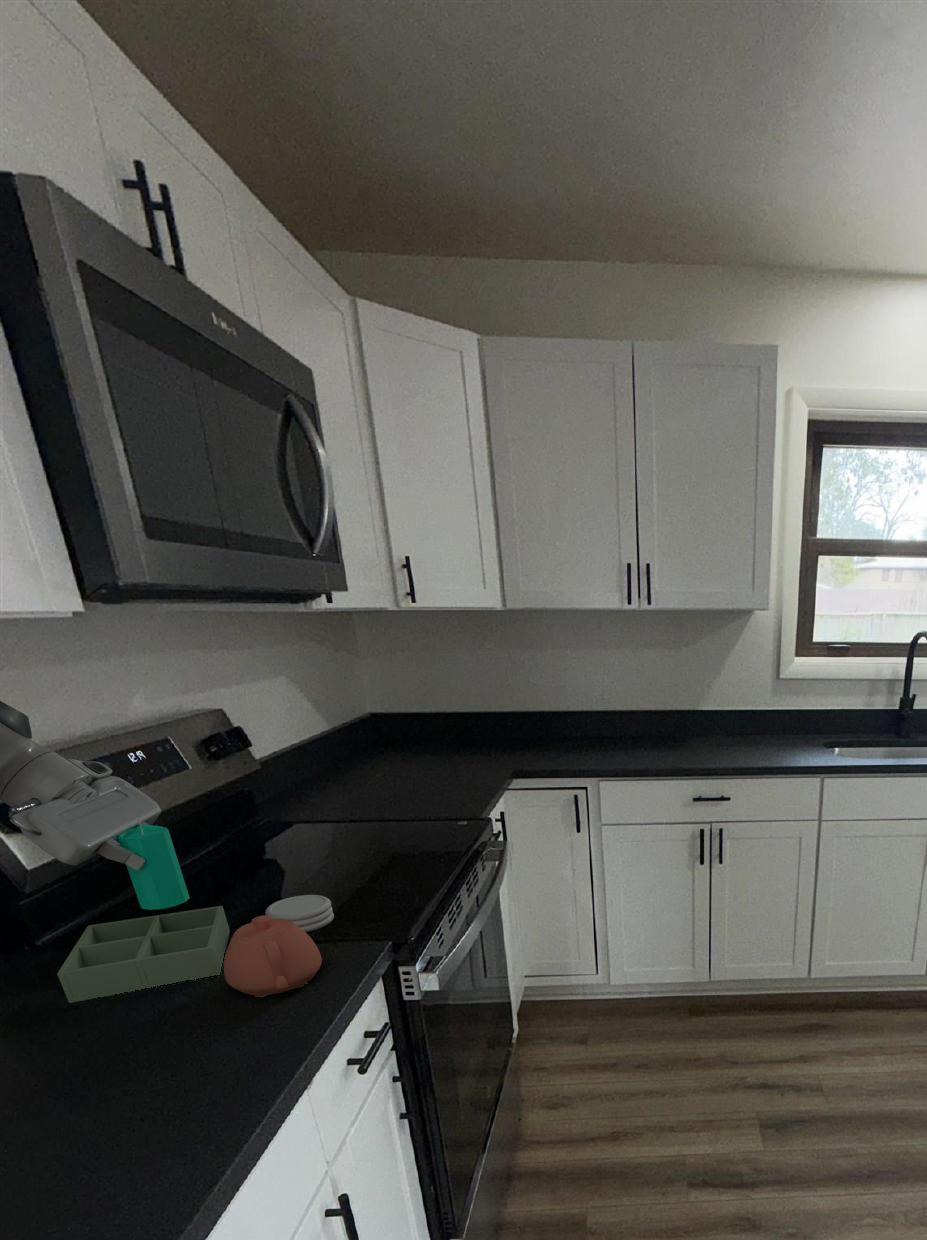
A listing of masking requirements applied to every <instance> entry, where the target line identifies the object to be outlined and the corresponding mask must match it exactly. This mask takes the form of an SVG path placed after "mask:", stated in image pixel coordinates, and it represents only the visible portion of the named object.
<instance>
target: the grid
mask: <svg viewBox="0 0 927 1240" xmlns="http://www.w3.org/2000/svg"><path fill="white" fill-rule="evenodd" d="M230 932H231V931H230V926H229V923H228V920H227V916H226V912H225V910H224V906H223V905H217V906H212V907H211V906H210V907H204V908H198V909H191V910H185V911H183V910H182V911H177V912H171V913H163V914H157V915H149V916H144V917H137V918H129V919H123V920H117V921H116V920H115V921H109V922H104V923H103V922H102V923H95V924H90V925H87V926H86V928H85V930H84V931H83V933H82V934H81V936H80V938H79V939H78V941H77V942H76V943H75V945H74V946H73V948H72V950H71V952H70V953H69V955H68V956H67V958H66V959H65V961H64V963H63V964H62V965H61V967H60V968H59V970H58V972H57V973H56V974H57V977H58V979H59V982H60V983H61V986H62V989H63V992H64V994H65V996H66V999H67V1001H68V1003H69V1004H72V1003H77V1002H83V1001H88V1000H94V998H95V999H99V998H98V997H100V998H105V996H106V997H110V996H116V995H115V994H117V995H121V994H120V993H122V994H125V993H124V992H128V993H133V992H136V991H135V990H139V991H142V990H141V989H145V988H150V989H154V988H153V987H155V986H156V988H158V987H157V986H160V985H164V984H165V985H167V984H172V983H176V982H180V981H181V982H182V981H186V980H194V979H195V980H194V981H197V980H196V979H198V978H199V979H200V978H204V977H209V976H214V975H220V972H221V973H222V971H221V967H222V968H223V966H222V963H223V964H224V961H223V958H224V959H225V957H224V953H225V954H226V952H225V950H226V951H227V948H228V942H229V937H230ZM200 980H201V979H200ZM172 985H173V984H172ZM167 986H168V985H167ZM151 987H152V988H151ZM145 990H146V989H145ZM132 991H133V992H132Z"/></svg>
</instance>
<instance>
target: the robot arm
mask: <svg viewBox="0 0 927 1240" xmlns="http://www.w3.org/2000/svg"><path fill="white" fill-rule="evenodd" d="M112 774H113V769H112V768H111V767H109V766H108V765H106V764H105V763H103V762H101V761H91V760H89V761H88V760H79V759H74V758H65V757H63V756H62V755H61V754H59V753H57V752H56V751H55V750H52V749H50V748H48V747H45V746H42V745H41V744H39V743H37V742H35V741H34V740H33V733H32V728H31V724H30V719H29V716H28V715H27V714H25V713H23V712H22V711H19V710H18V709H16V708H14V707H12V706H11V705H8V704H7V703H5V702H4V701H2V700H0V802H3V803H4V804H6V805H7V806H8V807H9V808H8V810H7V813H8V818H9V822H11V823H12V824H13V825H15V826H16V827H18V828H20V831H21V833H22V834H23V835H24V836H25V837H26V838H27V839H28V840H29V841H31V842H32V843H33V844H35V845H36V846H37V847H38V848H40V849H41V850H42V851H44V852H46V853H47V854H48V855H50V856H51V857H53V858H54V859H56V860H57V861H58V862H61V863H63V864H64V865H65V864H66V865H70V866H78V865H80V864H82V863H84V862H86V861H88V860H90V859H91V858H93V857H95V856H97V855H101V856H102V857H103V858H105V859H107V860H111V861H114V862H118V863H121V864H125V865H126V864H127V865H128V866H130V867H132V868H133V869H135V870H139V869H141V868H142V867H143V866H144V865H145V864H146V863H147V860H146V858H144V857H143V856H141V855H139V854H138V853H136V852H133V851H130V850H128V849H125V848H123V847H121V846H120V843H119V842H118V840H117V837H116V836H118V835H119V834H121V833H123V832H125V831H127V830H129V829H131V828H135V827H139V826H140V825H139V822H138V820H139V821H140V824H141V826H142V825H154V823H155V822H156V821H157V820H158V818H159V817H160V815H161V814H162V812H163V811H162V808H161V807H160V805H159V804H158V803H157V802H156V801H155V800H154V799H152V798H151V797H149V796H148V795H147V794H145V793H144V792H143V791H142V790H140V789H138V788H137V787H135V786H134V785H132V784H131V783H130V782H128V781H126V780H125V779H123V778H121V777H119V776H115V775H112Z"/></svg>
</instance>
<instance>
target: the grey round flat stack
mask: <svg viewBox="0 0 927 1240" xmlns="http://www.w3.org/2000/svg"><path fill="white" fill-rule="evenodd" d="M265 915H266V916H271V917H272V918H282V919H287V920H290V921H292V922H293V923H295V924H296V925H297V926H299V927H300V928H301V929H302V930H303V931H304V932H305V933H310V932H313V931H316V930H317V931H318V930H320V929H322V928H325V927H327V926H328V925H329V924H330V923H332V921H334V919H335V914H334V911H333V907H332V901H331V900H330V898H328V897H326V896H325V895H324V896H323V895H319V894H305V895H304V894H303V895H295V896H291V897H286V898H283V899H280V900H277V901H275V902H273V903H272V904H270V905H269V906H267V908H266V909H265Z"/></svg>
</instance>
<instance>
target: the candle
mask: <svg viewBox="0 0 927 1240" xmlns="http://www.w3.org/2000/svg"><path fill="white" fill-rule="evenodd" d="M138 822H139V825H140V826H139V827H135V828H131V829H129V830H127V831H125V832H123V833H121V834H119V835H118V836H116V837H117V840H118V842H119V843H120V845H119V846H121V847H123V848H125V849H128V850H130V851H133V852H136V853H138V854H139V855H141V856H143V857H144V858H146V860H147V863H146V864H145V865H144V866H143V867H142V868H141V869H139V870H135V869H133V868H132V867H130V866H128V865H127V864H125V867H126V869H127V872H128V874H129V877H130V880H131V884H132V886H133V890H134V892H135V895H136V898H137V901H138V903H139V904H138V905H139V906H140V908H141V909H143V910H147V911H148V910H149V911H151V910H153V911H154V910H164V909H168V908H172V907H176V906H179V905H181V904H184V903H186V902H187V901H189V900H190V899H191V898H190V894H189V892H188V889H187V884H186V881H185V878H184V876H183V872H182V869H181V866H180V862H179V860H178V857H177V854H176V850H175V847H174V843H173V840H172V837H171V834H170V830H169V828H168V827H165V826H162V825H161V826H160V825H154V824H152V825H142V826H141V824H140V821H139V820H138Z"/></svg>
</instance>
